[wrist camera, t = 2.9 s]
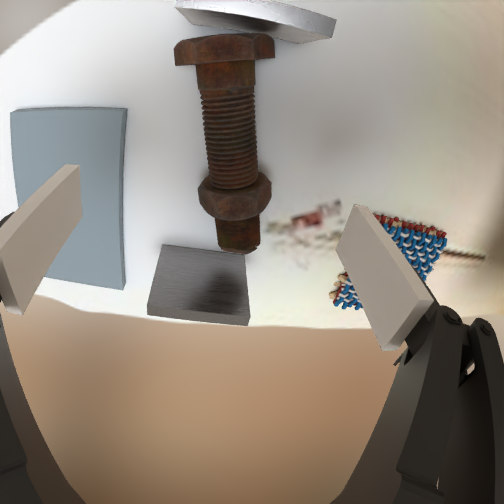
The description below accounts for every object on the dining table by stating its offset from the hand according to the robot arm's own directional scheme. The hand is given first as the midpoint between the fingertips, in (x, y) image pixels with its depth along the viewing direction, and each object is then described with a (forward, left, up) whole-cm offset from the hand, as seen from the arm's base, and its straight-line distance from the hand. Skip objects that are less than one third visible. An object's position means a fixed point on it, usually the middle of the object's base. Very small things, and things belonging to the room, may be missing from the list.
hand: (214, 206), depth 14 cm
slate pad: (+12, +6, -9) cm, 16 cm away
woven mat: (-18, +8, -9) cm, 22 cm away
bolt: (-1, -1, -9) cm, 9 cm away
